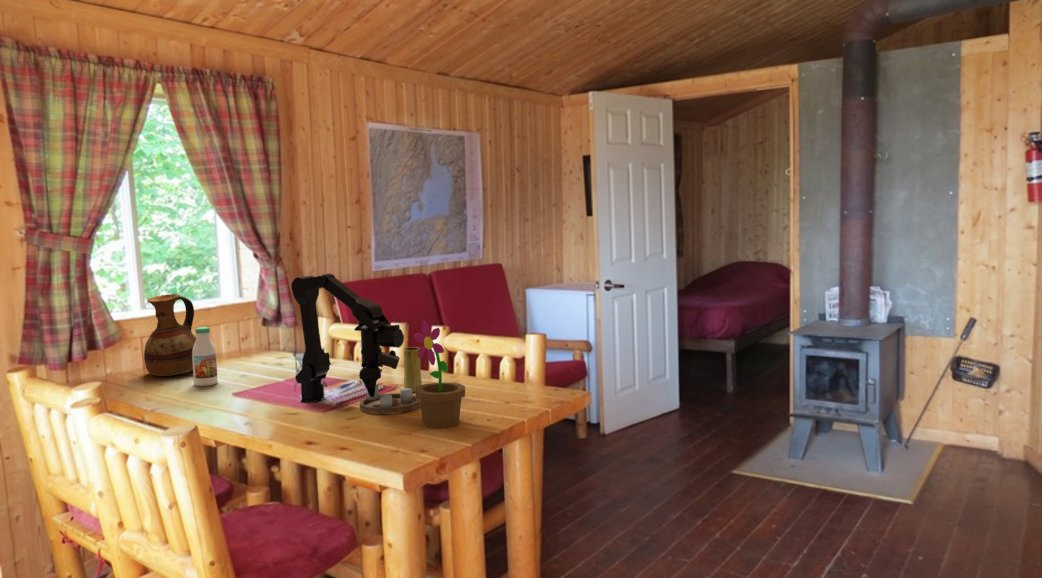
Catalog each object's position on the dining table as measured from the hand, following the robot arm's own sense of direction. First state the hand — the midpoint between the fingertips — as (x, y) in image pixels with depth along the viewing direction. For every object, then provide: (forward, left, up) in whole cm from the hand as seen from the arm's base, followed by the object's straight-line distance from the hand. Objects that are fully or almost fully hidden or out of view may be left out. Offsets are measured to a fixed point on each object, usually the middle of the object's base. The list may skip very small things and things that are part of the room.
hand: (372, 395), depth 237 cm
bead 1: (0, 0, -1) cm, 1 cm away
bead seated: (+10, +1, -3) cm, 11 cm away
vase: (+12, +18, -4) cm, 22 cm away
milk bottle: (-60, +41, -4) cm, 73 cm away
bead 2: (+4, -6, -3) cm, 8 cm away
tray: (+5, -1, -4) cm, 6 cm away
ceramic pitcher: (-76, +61, -4) cm, 97 cm away
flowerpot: (+20, -22, -4) cm, 30 cm away
